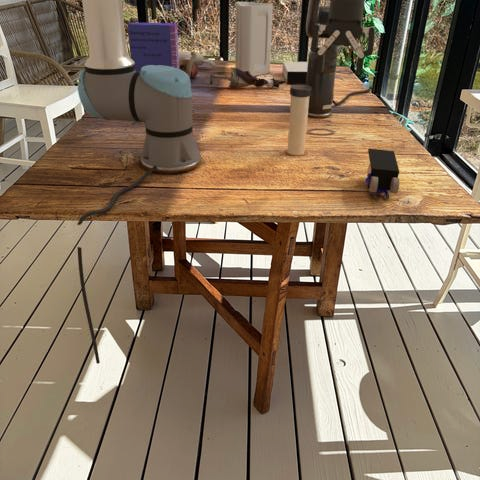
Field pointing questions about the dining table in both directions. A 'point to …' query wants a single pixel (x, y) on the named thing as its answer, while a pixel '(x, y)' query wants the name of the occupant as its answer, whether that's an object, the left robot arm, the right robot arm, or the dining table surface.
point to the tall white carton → (253, 37)
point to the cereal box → (153, 44)
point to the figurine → (246, 79)
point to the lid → (300, 90)
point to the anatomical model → (189, 66)
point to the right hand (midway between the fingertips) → (339, 72)
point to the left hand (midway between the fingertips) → (174, 20)
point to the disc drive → (295, 72)
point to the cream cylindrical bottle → (297, 125)
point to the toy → (198, 60)
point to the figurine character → (382, 172)
